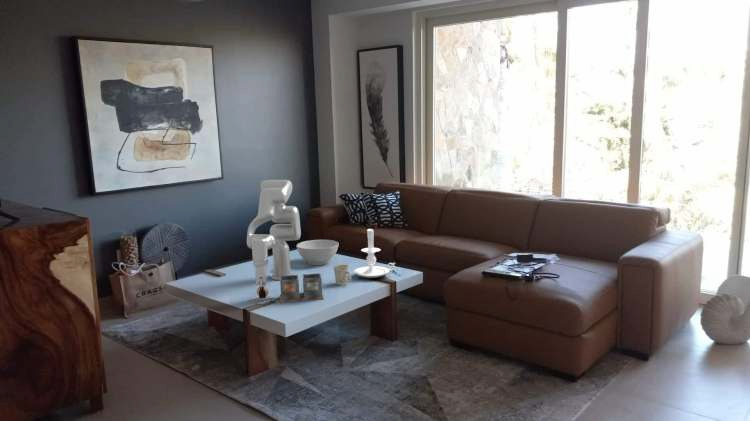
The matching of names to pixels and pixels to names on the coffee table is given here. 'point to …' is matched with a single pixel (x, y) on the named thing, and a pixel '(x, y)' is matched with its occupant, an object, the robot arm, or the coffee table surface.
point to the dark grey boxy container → (310, 288)
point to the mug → (342, 274)
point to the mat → (262, 299)
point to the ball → (265, 291)
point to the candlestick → (372, 261)
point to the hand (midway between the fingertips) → (262, 295)
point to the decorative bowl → (317, 251)
